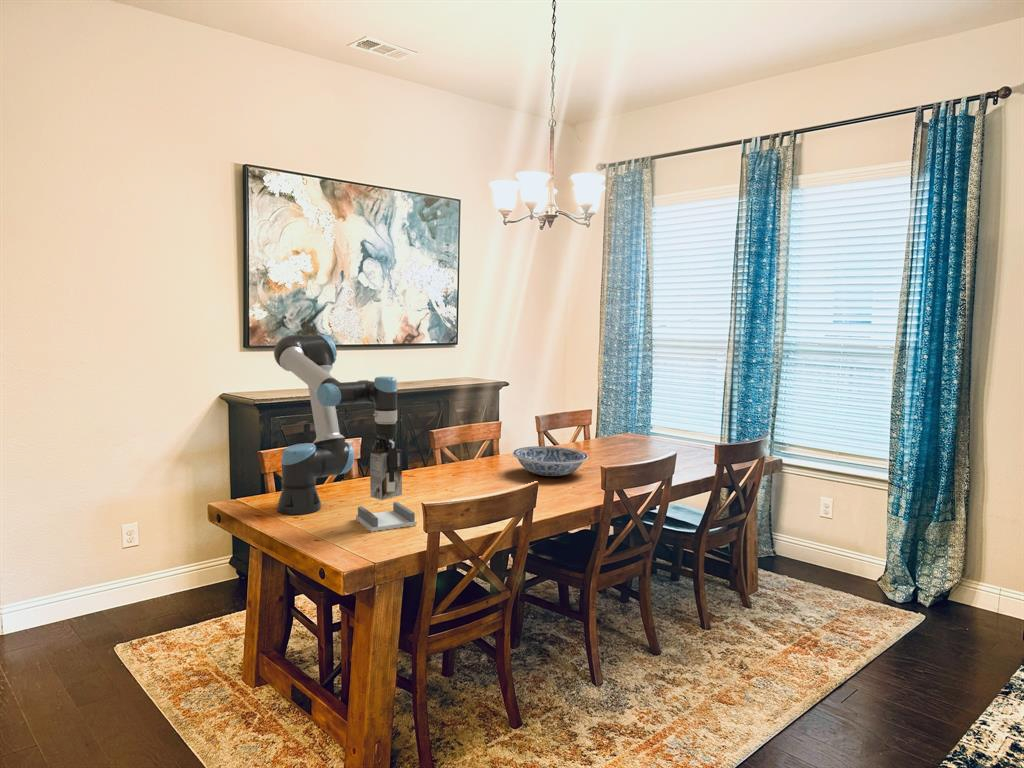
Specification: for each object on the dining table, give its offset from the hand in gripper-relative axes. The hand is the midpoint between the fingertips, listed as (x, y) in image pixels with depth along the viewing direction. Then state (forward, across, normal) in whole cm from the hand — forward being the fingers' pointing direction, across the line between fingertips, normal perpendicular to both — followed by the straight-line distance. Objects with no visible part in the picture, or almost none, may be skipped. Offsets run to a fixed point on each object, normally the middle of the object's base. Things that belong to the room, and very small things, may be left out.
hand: (386, 488), depth 241 cm
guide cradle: (+12, 0, 0) cm, 12 cm away
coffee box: (+3, 0, 0) cm, 3 cm away
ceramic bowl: (+12, -37, +92) cm, 100 cm away
